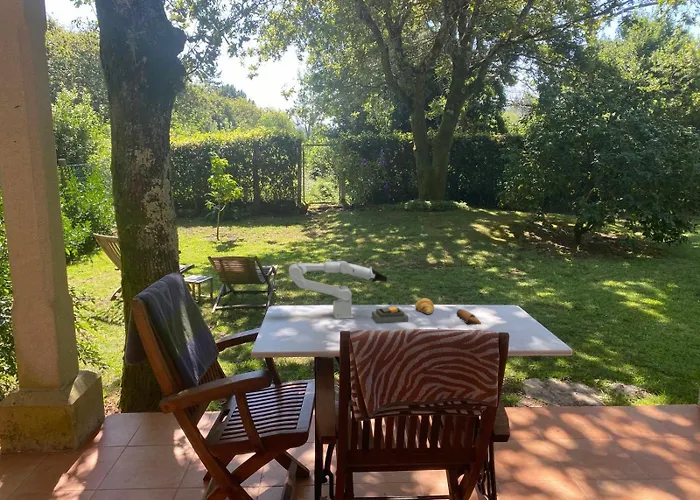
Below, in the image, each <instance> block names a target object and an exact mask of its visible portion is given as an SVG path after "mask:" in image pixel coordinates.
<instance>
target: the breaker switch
mask: <svg viewBox="0 0 700 500" xmlns="http://www.w3.org/2000/svg"><path fill="white" fill-rule="evenodd" d="M397 308H398V307H396V306H389V307H385V309H384V308H381V309H382V312H383V313H394V312H398V309H397Z"/></svg>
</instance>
